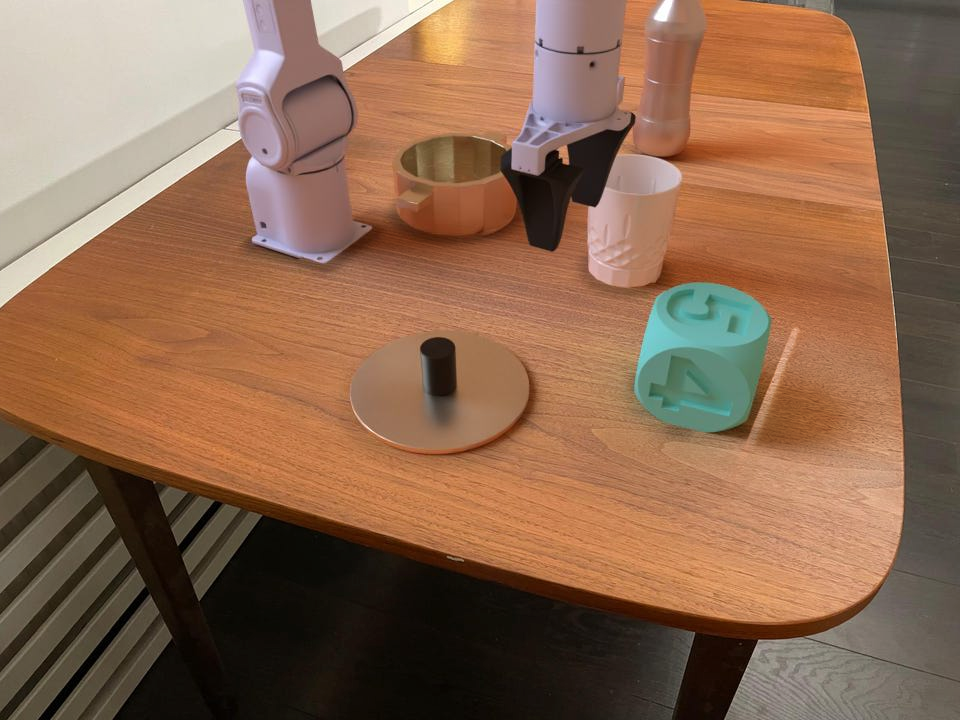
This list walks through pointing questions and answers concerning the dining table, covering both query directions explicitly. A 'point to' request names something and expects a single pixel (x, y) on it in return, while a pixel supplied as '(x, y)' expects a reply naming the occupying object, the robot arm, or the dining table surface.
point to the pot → (454, 184)
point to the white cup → (633, 221)
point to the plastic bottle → (668, 76)
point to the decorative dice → (702, 356)
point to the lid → (439, 392)
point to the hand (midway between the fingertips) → (565, 223)
